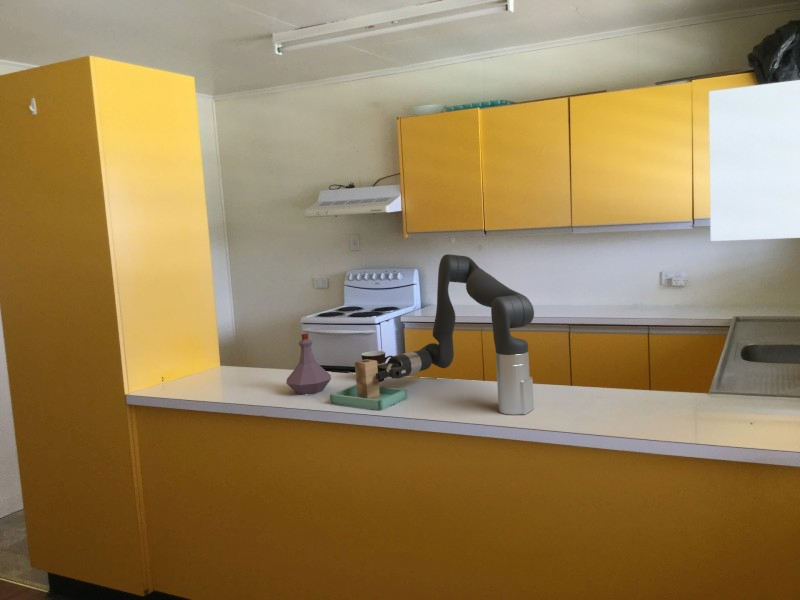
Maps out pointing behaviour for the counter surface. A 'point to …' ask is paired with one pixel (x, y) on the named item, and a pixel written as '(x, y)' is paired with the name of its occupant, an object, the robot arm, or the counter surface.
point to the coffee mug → (375, 357)
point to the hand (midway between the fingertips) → (367, 375)
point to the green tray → (350, 398)
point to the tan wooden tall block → (367, 379)
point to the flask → (308, 372)
